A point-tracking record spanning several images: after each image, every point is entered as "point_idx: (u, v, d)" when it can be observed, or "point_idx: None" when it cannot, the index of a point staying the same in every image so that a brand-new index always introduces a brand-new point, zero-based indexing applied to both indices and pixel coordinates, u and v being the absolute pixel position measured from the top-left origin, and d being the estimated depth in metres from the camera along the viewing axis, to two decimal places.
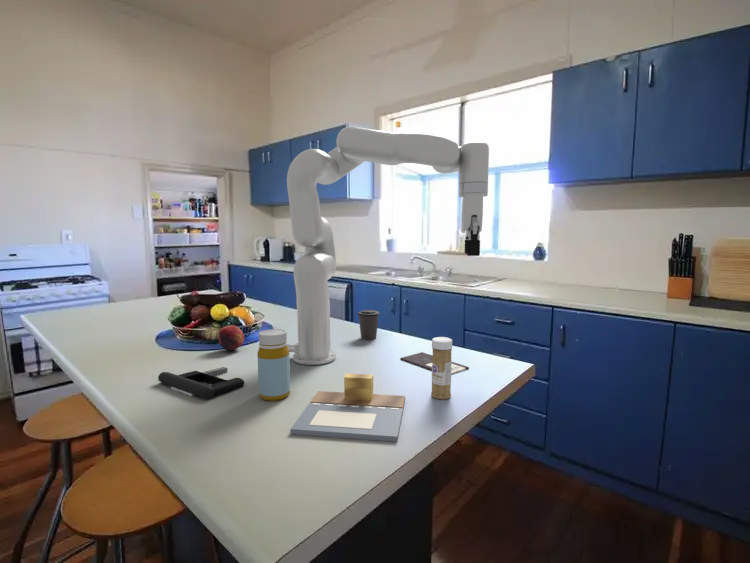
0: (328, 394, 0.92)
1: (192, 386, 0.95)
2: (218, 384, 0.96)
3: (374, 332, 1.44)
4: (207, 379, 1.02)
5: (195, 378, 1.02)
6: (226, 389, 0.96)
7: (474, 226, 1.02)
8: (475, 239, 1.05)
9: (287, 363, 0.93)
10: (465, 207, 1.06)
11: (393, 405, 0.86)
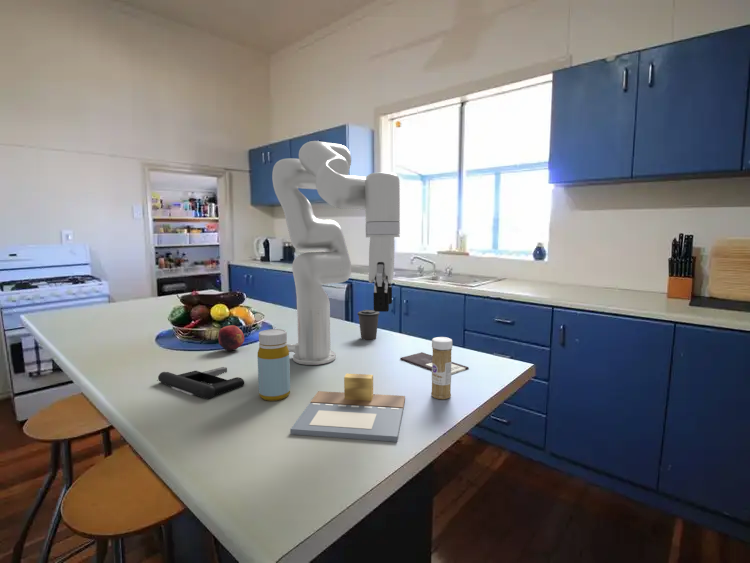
0: (328, 394, 0.92)
1: (192, 386, 0.95)
2: (219, 383, 0.96)
3: (374, 332, 1.44)
4: (207, 379, 1.03)
5: (196, 378, 1.03)
6: (227, 389, 0.97)
7: (378, 278, 0.83)
8: (382, 292, 0.86)
9: (287, 363, 0.93)
10: (370, 252, 0.87)
11: (393, 405, 0.86)
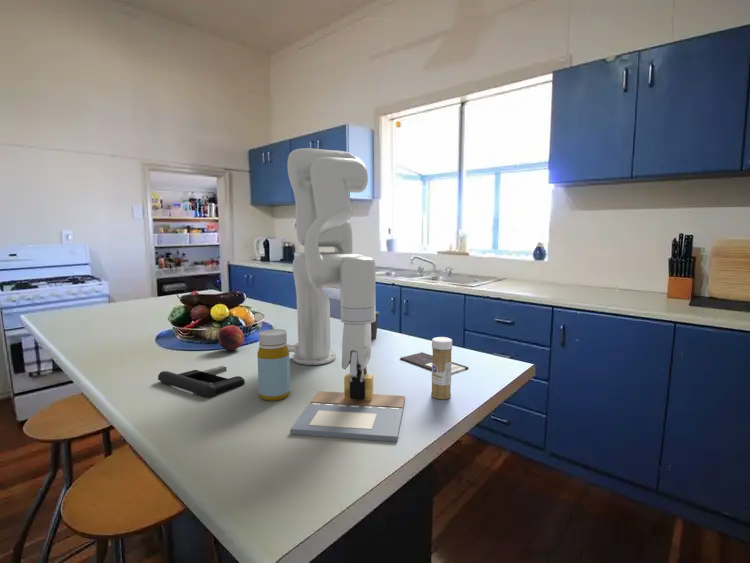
0: (328, 394, 0.92)
1: (193, 385, 0.96)
2: (220, 382, 0.97)
3: (374, 332, 1.44)
4: (207, 378, 1.03)
5: (196, 377, 1.03)
6: (227, 388, 0.97)
7: (352, 377, 0.84)
8: (357, 382, 0.87)
9: (287, 363, 0.93)
10: (343, 340, 0.85)
11: (393, 405, 0.86)
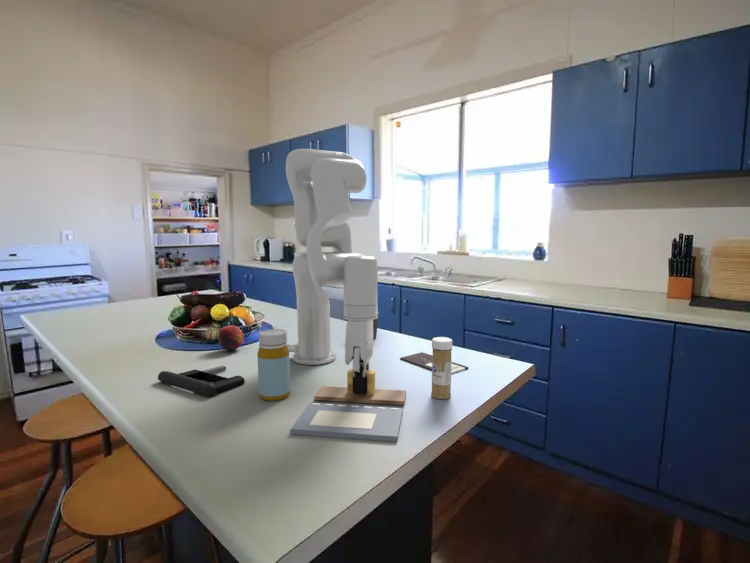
0: (332, 389, 0.95)
1: (193, 384, 0.96)
2: (220, 381, 0.98)
3: (374, 332, 1.44)
4: (207, 377, 1.04)
5: (196, 377, 1.04)
6: (228, 387, 0.98)
7: (355, 372, 0.87)
8: (360, 377, 0.90)
9: (287, 363, 0.93)
10: (346, 336, 0.88)
11: (394, 399, 0.90)
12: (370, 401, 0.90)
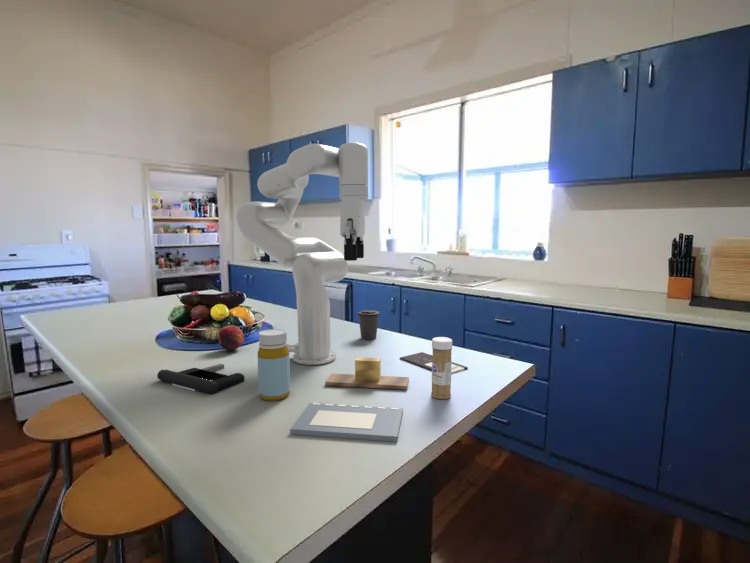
0: (340, 376, 1.04)
1: (195, 382, 0.97)
2: (221, 379, 0.99)
3: (374, 332, 1.44)
4: (207, 375, 1.05)
5: (195, 375, 1.05)
6: (229, 384, 1.00)
7: (346, 230, 0.99)
8: (350, 243, 1.02)
9: (287, 363, 0.93)
10: (341, 210, 1.03)
11: (398, 384, 0.98)
12: (376, 386, 0.99)
